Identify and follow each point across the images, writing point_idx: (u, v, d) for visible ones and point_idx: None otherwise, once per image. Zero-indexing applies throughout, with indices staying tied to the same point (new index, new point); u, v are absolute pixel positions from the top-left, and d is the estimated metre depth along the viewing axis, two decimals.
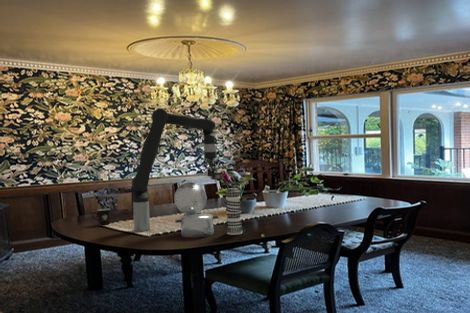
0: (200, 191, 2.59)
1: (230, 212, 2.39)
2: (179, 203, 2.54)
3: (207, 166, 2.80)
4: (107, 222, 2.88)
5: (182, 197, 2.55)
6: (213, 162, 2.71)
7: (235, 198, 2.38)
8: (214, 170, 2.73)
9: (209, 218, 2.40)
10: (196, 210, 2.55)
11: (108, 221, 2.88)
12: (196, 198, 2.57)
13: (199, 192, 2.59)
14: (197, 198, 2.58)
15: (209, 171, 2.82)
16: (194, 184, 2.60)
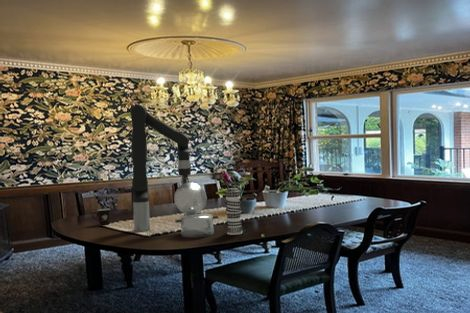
0: (200, 191, 2.59)
1: (230, 212, 2.39)
2: (179, 203, 2.54)
3: (182, 183, 2.69)
4: (107, 222, 2.88)
5: (182, 197, 2.55)
6: None
7: (235, 198, 2.38)
8: None
9: (209, 218, 2.40)
10: (196, 210, 2.55)
11: (108, 221, 2.88)
12: (196, 198, 2.57)
13: (199, 192, 2.59)
14: (197, 198, 2.58)
15: None
16: (194, 184, 2.60)
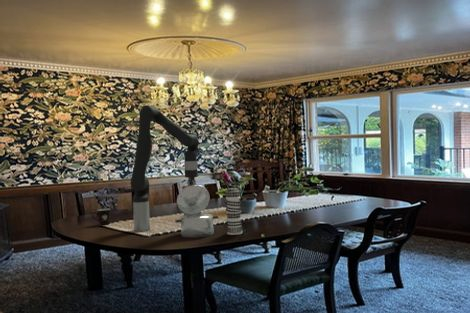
0: (204, 193, 2.50)
1: (230, 212, 2.39)
2: (181, 204, 2.48)
3: (189, 185, 2.53)
4: (107, 222, 2.88)
5: (185, 199, 2.48)
6: None
7: (235, 198, 2.38)
8: None
9: (209, 218, 2.40)
10: (196, 211, 2.54)
11: (108, 221, 2.88)
12: (199, 200, 2.51)
13: (203, 194, 2.50)
14: (200, 200, 2.51)
15: None
16: (200, 187, 2.47)
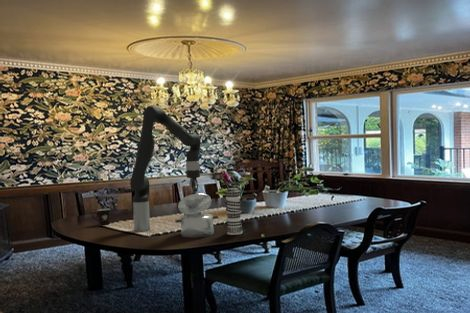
0: (206, 200, 2.46)
1: (230, 212, 2.39)
2: (182, 208, 2.46)
3: None
4: (107, 222, 2.88)
5: (186, 204, 2.45)
6: (196, 186, 2.43)
7: (235, 198, 2.38)
8: (196, 192, 2.47)
9: (209, 218, 2.40)
10: (196, 212, 2.53)
11: (108, 221, 2.88)
12: (200, 204, 2.48)
13: (205, 201, 2.46)
14: (201, 204, 2.48)
15: None
16: (202, 196, 2.42)
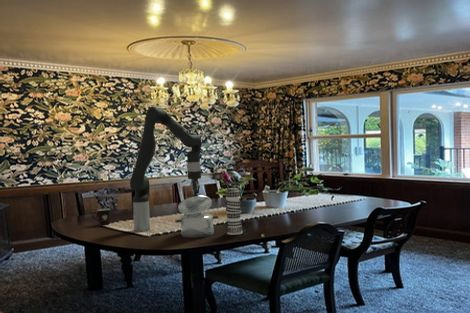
0: (207, 202, 2.45)
1: (230, 212, 2.39)
2: (183, 209, 2.46)
3: (192, 187, 2.45)
4: (107, 222, 2.88)
5: (187, 206, 2.44)
6: (197, 187, 2.39)
7: (235, 198, 2.38)
8: None
9: (209, 218, 2.40)
10: (196, 212, 2.53)
11: (108, 221, 2.88)
12: (201, 205, 2.48)
13: (206, 202, 2.46)
14: (202, 205, 2.48)
15: (195, 195, 2.45)
16: (203, 198, 2.41)
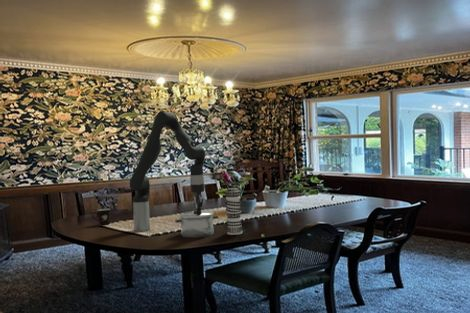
0: None
1: (230, 212, 2.39)
2: None
3: (195, 201, 2.40)
4: (107, 222, 2.88)
5: None
6: (200, 201, 2.35)
7: (235, 198, 2.38)
8: (200, 207, 2.39)
9: (209, 218, 2.40)
10: None
11: (108, 221, 2.88)
12: None
13: None
14: None
15: None
16: None
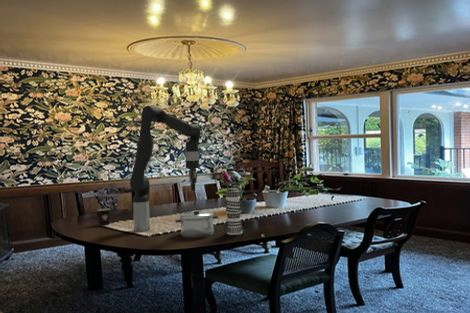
0: None
1: (230, 212, 2.39)
2: None
3: (189, 177, 2.44)
4: (107, 222, 2.88)
5: None
6: (194, 177, 2.39)
7: (235, 198, 2.38)
8: (194, 183, 2.44)
9: (209, 218, 2.40)
10: None
11: (108, 221, 2.88)
12: None
13: None
14: None
15: None
16: (205, 217, 2.38)
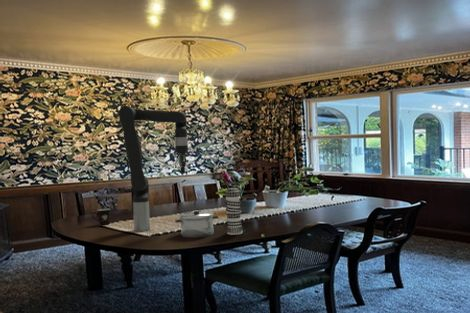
0: None
1: (230, 212, 2.39)
2: None
3: (179, 161, 2.64)
4: (107, 222, 2.88)
5: None
6: (184, 160, 2.59)
7: (235, 198, 2.38)
8: (184, 167, 2.63)
9: (209, 218, 2.40)
10: None
11: (108, 221, 2.88)
12: None
13: None
14: None
15: None
16: (205, 217, 2.38)
